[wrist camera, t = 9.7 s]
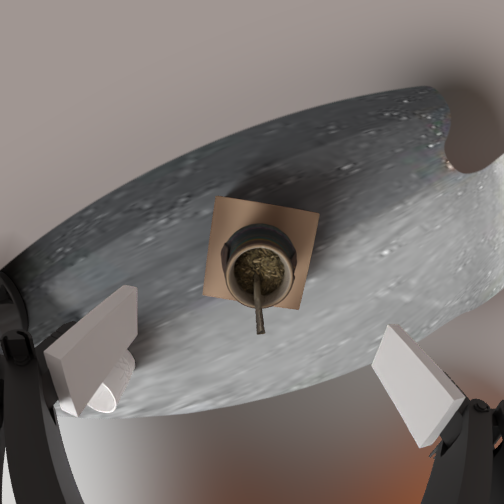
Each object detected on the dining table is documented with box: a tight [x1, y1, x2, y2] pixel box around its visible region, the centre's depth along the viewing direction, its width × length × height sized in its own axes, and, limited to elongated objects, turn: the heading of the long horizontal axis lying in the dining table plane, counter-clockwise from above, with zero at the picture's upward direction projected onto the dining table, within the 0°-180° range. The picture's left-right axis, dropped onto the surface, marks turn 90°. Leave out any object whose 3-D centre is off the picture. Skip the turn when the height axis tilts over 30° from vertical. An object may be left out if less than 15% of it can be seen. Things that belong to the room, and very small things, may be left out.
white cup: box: [87, 350, 135, 413], centre depth 34 cm, size 8×8×10 cm
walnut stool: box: [203, 196, 320, 310], centre depth 32 cm, size 11×11×6 cm
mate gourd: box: [220, 223, 297, 334], centre depth 24 cm, size 7×8×10 cm
